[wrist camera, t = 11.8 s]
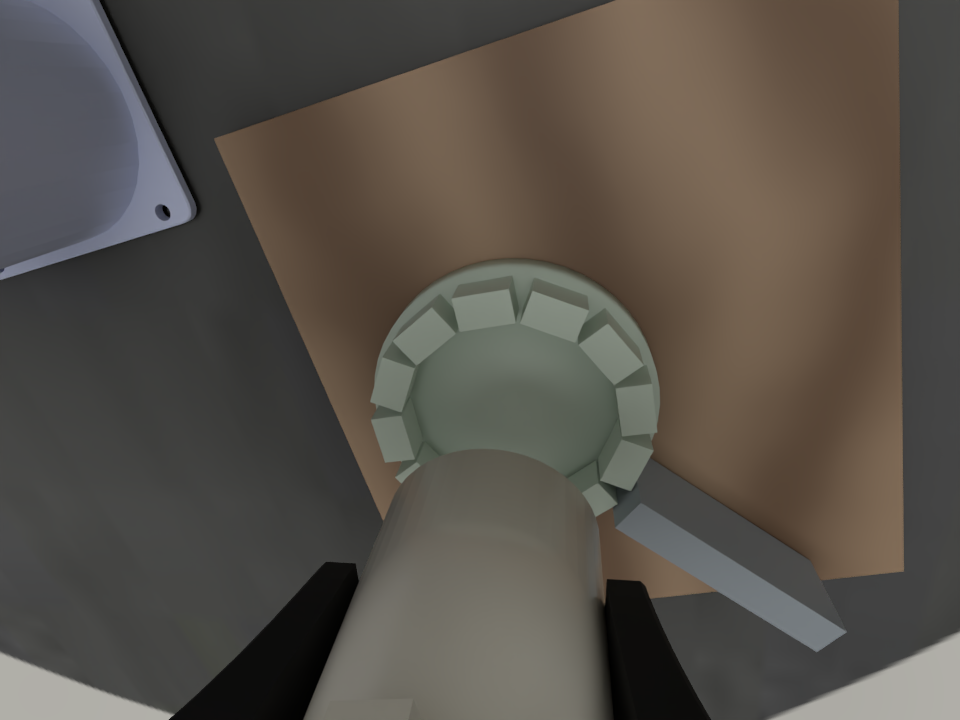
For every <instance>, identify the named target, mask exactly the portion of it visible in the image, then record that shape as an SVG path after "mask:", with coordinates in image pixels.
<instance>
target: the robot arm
mask: <svg viewBox="0 0 960 720" xmlns="http://www.w3.org/2000/svg"><path fill="white" fill-rule="evenodd" d="M163 205H165V206H167V208H168V209H169V210H170V214H171V216H170V218H169V217H167V216H166V215H165V214H164V212H163V209H162V207H163ZM196 210H197V208H196V204H195V201H194V199H193V197H192V195H191V193H190V191H189V189H188V187H187V185H186V182H185V180H184V178H183V176H182V174H181V172H180V170H179V168H178V166H177V164H176V161H175V159H174V157H173V155H172V153H171V151H170V149H169V147H168V145H167V142H166V140H165V138H164V136H163V134H162V132H161V130H160V128H159V126H158V123H157V121H156V119H155V117H154V115H153V113H152V111H151V109H150V107H149V105H148V102H147V100H146V98H145V96H144V94H143V92H142V90H141V88H140V86H139V83H138V81H137V79H136V77H135V75H134V73H133V71H132V69H131V67H130V64H129V62H128V60H127V58H126V56H125V54H124V52H123V50H122V48H121V46H120V43H119V41H118V39H117V37H116V35H115V33H114V31H113V29H112V27H111V24H110V22H109V20H108V18H107V16H106V14H105V12H104V10H103V8H102V6H101V3H100V1H99V0H0V280H2V279H5V278H9V277H12V276H15V275H18V274H22V273H25V272H28V271H31V270H34V269H38V268H41V267H44V266H47V265H51V264H54V263H57V262H60V261H64V260H67V259H70V258H73V257H77V256H80V255H83V254H86V253H89V252H93V251H96V250H99V249H102V248H106V247H109V246H112V245H115V244H119V243H122V242H125V241H128V240H132V239H135V238H138V237H141V236H144V235H148V234H151V233H154V232H157V231H161V230H164V229H167V228H170V227H174V226H177V225H180V224H183V223H186V222H189V221H191V220H192V219H194V217H195V215H196ZM358 583H359V580H358V575H357V569H356V564H353V563H336V562H326V563H325V564H323V565H322V566H321V567H320V568H319V570H318V571H317V572H316V573H315V574H314V575H313V576H312V577H311V578H310V579H309V580H308V582H307V583H306V584H305V585H304V586H303V587H302V588H301V589H300V590H299V591H298V593H297V594H296V595H295V596H294V597H293V598H292V599H291V600H290V601H289V602H288V603H287V605H286V606H285V607H284V608H283V609H282V610H281V611H280V612H279V613H278V614H277V615H276V616H275V617H274V619H273V620H272V621H271V622H270V623H269V624H268V625H267V626H266V627H265V628H264V629H263V630H262V631H261V632H260V633H259V634H258V635H257V636H256V637H255V638H254V639H253V640H252V641H251V642H250V643H249V644H248V646H247V647H246V648H245V649H244V650H243V651H242V652H241V653H240V654H239V655H238V656H237V657H236V658H235V659H234V660H233V661H232V662H231V663H229V664H228V665H227V666H226V667H225V668H224V669H223V670H222V671H221V672H220V673H219V674H218V675H217V676H216V677H215V678H214V679H213V680H212V681H211V682H210V683H209V684H208V685H206V686H205V687H204V688H203V689H202V690H201V691H200V692H199V693H198V694H197V695H196V696H195V697H194V698H193V699H191V700H190V701H189V702H188V703H187V704H186V705H185V706H184V707H183V708H181V709H180V710H179V711H178V712H177V713H176V714H175V715H173V716H172V717H171V718H170V719H169V720H303V719H304V716H305V714H306V711H307V709H308V706H309V704H310V701H311V699H312V696H313V694H314V691H315V689H316V687H317V684H318V682H319V679H320V677H321V674H322V672H323V669H324V667H325V664H326V662H327V659H328V657H329V654H330V652H331V650H332V647H333V645H334V642H335V640H336V637H337V635H338V632H339V630H340V627H341V625H342V622H343V620H344V617H345V615H346V613H347V610H348V608H349V605H350V603H351V600H352V598H353V595H354V593H355V590H356V588H357V585H358ZM605 614H606V626H607V639H608V651H609V663H610V675H611V688H612V700H613V713H614V720H711V719H710V717H709V716H708V714H707V712H706V710H705V709H704V707H703V705H702V703H701V702H700V700H699V698H698V696H697V694H696V693H695V691H694V689H693V687H692V685H691V683H690V681H689V680H688V678H687V676H686V674H685V672H684V670H683V669H682V667H681V665H680V663H679V661H678V659H677V657H676V655H675V653H674V651H673V649H672V647H671V645H670V643H669V641H668V639H667V636H666V634H665V632H664V630H663V628H662V626H661V623H660V621H659V619H658V617H657V614H656V612H655V610H654V607H653V605H652V602H651V599H650V597H649V594H648V591H647V588H646V586H645V585H644V584H643V583H642V582H641V581H633V580H616V579H607V582H606V598H605Z"/></svg>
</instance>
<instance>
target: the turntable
mask: <svg viewBox="0 0 960 720" xmlns="http://www.w3.org/2000/svg"><path fill="white" fill-rule="evenodd" d="M370 402H372V403H375V404H376V409H377V410H376V411H375V413H374V415H373V417H372V418H371V422H372V425H373V428H374V431H375V434H376V437H377V440H378V443H379V446H380V449H381V452H382V455H383V458H384V461H385V463H387V462H396V461H401V462H402V463H401V465H400V467H399V470H398V472H397V474H396V477H395V478H396V479H397V480H398V481H399V482H400V483H402V482H403V481H404V480H405V479H406V478H407V476H409V475H410V474H411V473H412V472H413V471H414V470H416V469H417V468H418V467H420V466H421V465H423V464H425V463H426V462H428V461H430V460H432V459H435V458H437V457H439V456H442V455H445V454H448V453H452V452H456V451H462V450H468V449H497V450H504V451H510V452H514V453H518V454H522V455H525V456H528V457H531V458H533V459H536V460H538V461H541V462H543V463H544V464H546V465H548V466H550V467H552V468H554V469H555V470H557V471H558V472H559V473H561V474H562V475H564V476H565V477H566V478H567V479H568V480H570V481H571V482H572V483H573V484H574V485H575V486H576V487H577V488H578V489H579V491H580V492H581V493H582V494H583V495H584V497H585V498H586V500H587V501H588V503H589V504H590V506H591V508H592V510H593V512H594V515H595V517H596V516H598V515H600V514H602V513H603V512H605V511H607V510H609V509H610V508H612V507H613V514H614V523H615V528H616V529H618V530H619V531H621V532H623V533H624V534H626V535H627V536H629V537H631V538H632V539H634V540H636V541H637V542H639V543H640V544H642V545H644V546H645V547H647V548H649V549H650V550H652V551H653V552H655V553H657V554H658V555H660V556H662V557H663V558H665V559H666V560H668V561H670V562H671V563H673V564H675V565H676V566H678V567H679V568H681V569H683V570H684V571H686V572H688V573H689V574H691V575H692V576H694V577H696V578H697V579H699V580H701V581H702V582H704V583H705V584H707V585H709V586H710V587H712V588H714V589H715V590H717V591H718V592H720V593H722V594H723V595H725V596H727V597H728V598H730V599H731V600H733V601H735V602H736V603H738V604H740V605H741V606H743V607H744V608H746V609H748V610H749V611H751V612H753V613H754V614H756V615H758V616H759V617H761V618H762V619H764V620H766V621H767V622H769V623H771V624H772V625H774V626H775V627H777V628H779V629H780V630H782V631H784V632H785V633H787V634H788V635H790V636H792V637H793V638H795V639H797V640H798V641H800V642H801V643H803V644H805V645H806V646H808V647H810V648H811V649H813V650H814V651H816V652H817V651H819V650H820V649H822V648H823V647H825V646H826V645H828V644H830V643H831V642H833V641H834V640H836V639H837V638H839V637H840V636H842V635H843V634H845V633H846V632H847V631H846V629H845V627H844V625H843V623H842V621H841V619H840V617H839V615H838V613H837V612H836V610H835V608H834V606H833V604H832V602H831V600H830V598H829V596H828V594H827V592H826V590H825V588H824V586H823V584H822V582H821V580H820V578H819V576H818V574H817V573H816V571H815V569H814V567H813V565H812V563H811V561H810V560H808V559H807V558H805V557H804V556H802V555H801V554H799V553H797V552H796V551H794V550H793V549H791V548H790V547H788V546H787V545H785V544H783V543H782V542H780V541H779V540H777V539H776V538H774V537H773V536H771V535H769V534H768V533H766V532H765V531H763V530H762V529H760V528H759V527H757V526H755V525H754V524H752V523H751V522H749V521H748V520H746V519H744V518H743V517H741V516H740V515H738V514H737V513H735V512H734V511H732V510H730V509H729V508H727V507H726V506H724V505H723V504H721V503H720V502H718V501H716V500H715V499H713V498H712V497H710V496H709V495H707V494H706V493H704V492H702V491H701V490H699V489H698V488H696V487H695V486H693V485H692V484H690V483H688V482H687V481H685V480H684V479H682V478H681V477H679V476H677V475H676V474H674V473H673V472H671V471H670V470H668V469H667V468H665V467H663V466H662V465H660V464H659V463H657V462H656V461H654V460H653V459H651V458H650V456H651V454H652V453H653V451H654V450H653V446H652V442H651V441H652V439H653V436H654V433H657V422H658V416H659V409H660V387H659V382H658V376H657V371H656V367H655V364H654V361H653V358H652V355H651V352H650V349H649V346H648V343H647V340H646V338H645V336H644V335H643V333H642V331H641V329H640V327H639V325H638V323H637V322H636V321H635V319H634V318H633V316H632V315H631V314H630V312H629V311H628V310H627V309H626V307H625V306H624V305H623V304H622V303H621V302H620V301H619V300H618V299H617V298H616V297H615V296H614V295H612V294H611V293H610V292H609V291H607V290H606V289H605V288H604V287H602V286H601V285H600V284H598V283H596V282H595V281H593V280H591V279H590V278H588V277H586V276H585V275H583V274H580V273H578V272H576V271H573V270H571V269H569V268H566V267H564V266H560V265H556V264H553V263H549V262H546V261H539V260H532V259H516V258H505V259H496V260H487V261H483V262H479V263H475V264H471V265H467V266H465V267H462V268H460V269H457V270H455V271H452V272H450V273H448V274H447V275H445V276H443V277H441V278H439V279H438V280H436V281H434V282H433V283H432V284H430V285H429V286H428V287H426V288H425V289H424V290H422V291H421V292H420V293H419V294H418V295H417V296H416V297H415V298H414V299H413V300H412V301H411V302H410V303H409V305H408V306H407V307H406V309H405V310H404V311H403V313H402V314H401V315H400V317H399V318H398V320H397V321H396V323H395V324H394V325H393V327H392V328H391V330H390V332H389V334H388V336H387V338H386V340H385V341H384V343H383V346H382V349H381V352H380V355H379V357H378V361H377V366H376V372H375V384H374V389H373V393H372V397H371V400H370Z"/></svg>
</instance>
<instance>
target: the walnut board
mask: <svg viewBox="0 0 960 720" xmlns="http://www.w3.org/2000/svg"><path fill="white" fill-rule="evenodd" d="M214 140H215V143H216V145H217V147H218V149H219V152H220V154H221V156H222V158H223V161H224V163H225V165H226V167H227V170H228V172H229V174H230V176H231V179H232V181H233V183H234V185H235V188H236V190H237V192H238V194H239V197H240V199H241V201H242V203H243V206H244V208H245V210H246V212H247V215H248V217H249V219H250V221H251V224H252V226H253V228H254V230H255V233H256V235H257V237H258V240H259V242H260V244H261V246H262V249H263V251H264V253H265V255H266V258H267V260H268V262H269V264H270V267H271V269H272V271H273V273H274V276H275V278H276V280H277V282H278V285H279V287H280V289H281V291H282V294H283V296H284V298H285V300H286V303H287V305H288V307H289V309H290V312H291V314H292V316H293V318H294V321H295V323H296V325H297V327H298V330H299V332H300V334H301V336H302V339H303V341H304V343H305V345H306V348H307V350H308V352H309V354H310V357H311V359H312V361H313V363H314V366H315V368H316V370H317V373H318V375H319V377H320V379H321V382H322V384H323V386H324V388H325V391H326V393H327V395H328V397H329V400H330V402H331V404H332V406H333V409H334V411H335V413H336V415H337V418H338V420H339V422H340V424H341V427H342V429H343V431H344V433H345V436H346V438H347V440H348V442H349V445H350V447H351V449H352V451H353V454H354V456H355V458H356V460H357V463H358V465H359V467H360V469H361V472H362V474H363V476H364V478H365V481H366V483H367V485H368V487H369V490H370V492H371V494H372V497H373V499H374V501H375V503H376V506H377V508H378V510H379V512H380V515H381V517H382V519H383V521H384V519H385V516H386V514H387V511H388V509H389V506H390V504H391V502H392V499H393V497H394V494H395V493H396V491H397V489H398V488H399V486H400V485H401V483H400V482H399V481H398V480H397V479H396V478H395V477H396V474H397V472H398V470H399V467H400V465H401V463H402V462H401V461H396V462H387V463H385V461H384V458H383V455H382V452H381V449H380V446H379V443H378V440H377V437H376V434H375V431H374V428H373V425H372V422H371V418H372V417H373V415H374V413H375V411H376V410H377V409H376V404H375V403H372V402H370V400H371V397H372V393H373V389H374V384H375V372H376V366H377V361H378V357H379V355H380V352H381V349H382V346H383V343H384V341H385V340H386V338H387V336H388V334H389V332H390V330H391V328H392V327H393V325H394V324H395V323H396V321H397V320H398V318H399V317H400V315H401V314H402V313H403V311H404V310H405V309H406V307H407V306H408V305H409V303H410V302H411V301H412V300H413V299H414V298H415V297H416V296H417V295H418V294H419V293H420V292H421V291H422V290H424V289H425V288H426V287H428V286H429V285H430V284H432V283H433V282H434V281H436V280H438V279H439V278H441V277H443V276H445V275H447V274H448V273H450V272H452V271H455V270H457V269H460V268H462V267H465V266H467V265H471V264H475V263H479V262H483V261H487V260H496V259H505V258H516V259H532V260H539V261H546V262H549V263H553V264H556V265H560V266H564V267H566V268H569V269H571V270H573V271H576V272H578V273H580V274H583V275H585V276H586V277H588V278H590V279H591V280H593V281H595V282H596V283H598V284H600V285H601V286H602V287H604V288H605V289H606V290H607V291H609V292H610V293H611V294H612V295H614V296H615V297H616V298H617V299H618V300H619V301H620V302H621V303H622V304H623V305H624V306H625V307H626V309H627V310H628V311H629V312H630V314H631V315H632V316H633V318H634V319H635V321H636V322H637V323H638V325H639V327H640V329H641V331H642V333H643V335H644V336H645V338H646V340H647V343H648V346H649V349H650V352H651V355H652V358H653V361H654V364H655V367H656V371H657V376H658V382H659V387H660V409H659V416H658V422H657V433H654V436H653V439H652V441H651V442H652V446H653V450H654V451H653V453H652V454H651V456H650V458H651V459H653V460H654V461H656V462H657V463H659V464H660V465H662V466H663V467H665V468H667V469H668V470H670V471H671V472H673V473H674V474H676V475H677V476H679V477H681V478H682V479H684V480H685V481H687V482H688V483H690V484H692V485H693V486H695V487H696V488H698V489H699V490H701V491H702V492H704V493H706V494H707V495H709V496H710V497H712V498H713V499H715V500H716V501H718V502H720V503H721V504H723V505H724V506H726V507H727V508H729V509H730V510H732V511H734V512H735V513H737V514H738V515H740V516H741V517H743V518H744V519H746V520H748V521H749V522H751V523H752V524H754V525H755V526H757V527H759V528H760V529H762V530H763V531H765V532H766V533H768V534H769V535H771V536H773V537H774V538H776V539H777V540H779V541H780V542H782V543H783V544H785V545H787V546H788V547H790V548H791V549H793V550H794V551H796V552H797V553H799V554H801V555H802V556H804V557H805V558H807V559H808V560H810V561H811V563H812V565H813V567H814V569H815V571H816V573H817V574H818V576H819V578H820V580H827V579H837V578H846V577H855V576H865V575H874V574H883V573H893V572H902V571H904V542H903V435H902V329H901V222H900V115H899V9H898V0H615V1H613V2H610V3H607V4H604V5H601V6H598V7H595V8H592V9H589V10H586V11H583V12H581V13H578V14H575V15H572V16H569V17H566V18H563V19H560V20H557V21H554V22H552V23H549V24H546V25H543V26H540V27H537V28H534V29H531V30H528V31H525V32H522V33H520V34H517V35H514V36H511V37H508V38H505V39H502V40H499V41H496V42H493V43H491V44H488V45H485V46H482V47H479V48H476V49H473V50H470V51H467V52H464V53H461V54H459V55H456V56H453V57H450V58H447V59H444V60H441V61H438V62H435V63H432V64H430V65H427V66H424V67H421V68H418V69H415V70H412V71H409V72H406V73H403V74H400V75H398V76H395V77H392V78H389V79H386V80H383V81H380V82H377V83H374V84H371V85H369V86H366V87H363V88H360V89H357V90H354V91H351V92H348V93H345V94H342V95H339V96H337V97H334V98H331V99H328V100H325V101H322V102H319V103H316V104H313V105H310V106H308V107H305V108H302V109H299V110H296V111H293V112H290V113H287V114H284V115H281V116H278V117H276V118H273V119H270V120H267V121H264V122H261V123H258V124H255V125H252V126H249V127H247V128H244V129H241V130H238V131H235V132H232V133H229V134H226V135H223V136H220V137H217V138H215V139H214ZM596 520H597V524H598V528H599V537H600V549H601V562H602V574H603V587H604V600H605V598H606V582H607V579H616V580H633V581H641V582H642V583H643V584H644V585H645V586H646V588H647V591H648V594H649V597H650V599H651V598H660V597H669V596H679V595H688V594H697V593H706V592H716V591H717V590H715V589H714V588H712V587H710V586H709V585H707V584H705V583H704V582H702V581H701V580H699V579H697V578H696V577H694V576H692V575H691V574H689V573H688V572H686V571H684V570H683V569H681V568H679V567H678V566H676V565H675V564H673V563H671V562H670V561H668V560H666V559H665V558H663V557H662V556H660V555H658V554H657V553H655V552H653V551H652V550H650V549H649V548H647V547H645V546H644V545H642V544H640V543H639V542H637V541H636V540H634V539H632V538H631V537H629V536H627V535H626V534H624V533H623V532H621V531H619V530H618V529H616V528H615V523H614V514H613V507H612V508H610V509H609V510H607V511H605V512H603V513H602V514H600V515H598V516H596Z"/></svg>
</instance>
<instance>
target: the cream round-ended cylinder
mask: <svg viewBox="0 0 960 720" xmlns="http://www.w3.org/2000/svg"><path fill="white" fill-rule="evenodd" d="M303 720H614V713H613V700H612V688H611V675H610V663H609V651H608V639H607V626H606V614H605V600H604V587H603V574H602V562H601V549H600V537H599V528H598V524H597V520H596V517H595V515H594V512H593V510H592V508H591V506H590V504H589V503H588V501H587V500H586V498H585V497H584V495H583V494H582V493H581V492H580V491H579V489H578V488H577V487H576V486H575V485H574V484H573V483H572V482H571V481H570V480H568V479H567V478H566V477H565V476H564V475H562V474H561V473H559V472H558V471H557V470H555V469H554V468H552V467H550V466H548V465H546V464H544V463H543V462H541V461H538V460H536V459H533V458H531V457H528V456H525V455H522V454H518V453H514V452H510V451H504V450H497V449H468V450H462V451H456V452H452V453H448V454H445V455H442V456H439V457H437V458H435V459H432V460H430V461H428V462H426V463H425V464H423V465H421V466H420V467H418V468H417V469H416V470H414V471H413V472H412V473H411V474H410V475H409V476H407V478H406V479H405V480H404V481H403V482H402V483H401V485H400V486H399V488H398V489H397V491H396V493H395V494H394V497H393V499H392V502H391V504H390V506H389V509H388V511H387V514H386V516H385V519H384V521H383V524H382V526H381V529H380V531H379V534H378V536H377V539H376V541H375V543H374V546H373V548H372V551H371V553H370V556H369V558H368V561H367V563H366V566H365V568H364V571H363V573H362V576H361V578H360V580H359V583H358V585H357V588H356V590H355V593H354V595H353V598H352V600H351V603H350V605H349V608H348V610H347V613H346V615H345V617H344V620H343V622H342V625H341V627H340V630H339V632H338V635H337V637H336V640H335V642H334V645H333V647H332V650H331V652H330V654H329V657H328V659H327V662H326V664H325V667H324V669H323V672H322V674H321V677H320V679H319V682H318V684H317V687H316V689H315V691H314V694H313V696H312V699H311V701H310V704H309V706H308V709H307V711H306V714H305V716H304V719H303Z"/></svg>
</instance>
